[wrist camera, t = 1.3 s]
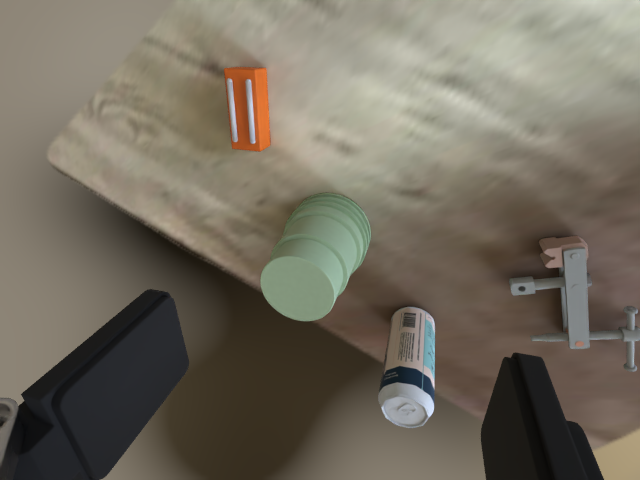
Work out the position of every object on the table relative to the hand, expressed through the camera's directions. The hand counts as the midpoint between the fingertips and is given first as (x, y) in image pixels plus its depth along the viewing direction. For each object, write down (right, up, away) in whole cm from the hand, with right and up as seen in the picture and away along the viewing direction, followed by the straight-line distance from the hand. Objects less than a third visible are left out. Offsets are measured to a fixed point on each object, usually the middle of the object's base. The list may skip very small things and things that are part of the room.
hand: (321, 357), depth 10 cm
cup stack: (+1, +4, +28) cm, 28 cm away
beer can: (+11, -6, +31) cm, 33 cm away
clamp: (+24, -3, +24) cm, 34 cm away
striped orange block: (-6, +16, +24) cm, 30 cm away
